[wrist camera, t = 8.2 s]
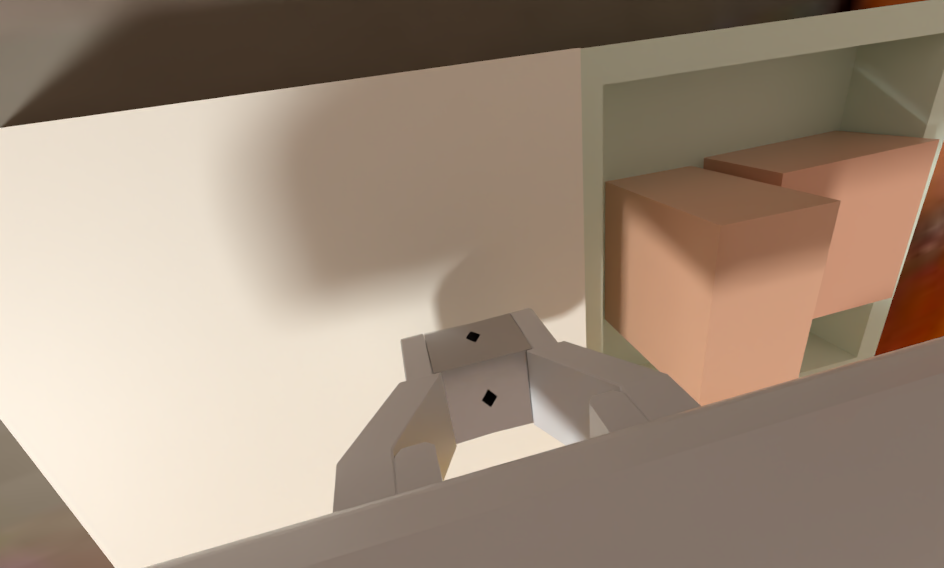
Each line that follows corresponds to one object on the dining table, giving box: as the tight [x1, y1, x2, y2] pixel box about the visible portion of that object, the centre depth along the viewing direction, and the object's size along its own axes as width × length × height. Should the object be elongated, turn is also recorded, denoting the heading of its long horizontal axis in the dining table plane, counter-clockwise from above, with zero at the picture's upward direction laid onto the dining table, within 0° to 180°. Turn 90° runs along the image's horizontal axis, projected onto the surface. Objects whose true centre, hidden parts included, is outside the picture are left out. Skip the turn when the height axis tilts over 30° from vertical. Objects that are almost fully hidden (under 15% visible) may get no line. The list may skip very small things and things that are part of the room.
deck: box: [0, 48, 586, 568], centre depth 12 cm, size 12×13×4 cm
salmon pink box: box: [703, 130, 940, 319], centre depth 14 cm, size 5×5×3 cm
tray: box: [581, 0, 944, 378], centre depth 14 cm, size 12×12×3 cm
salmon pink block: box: [605, 166, 841, 406], centre depth 13 cm, size 5×5×3 cm
